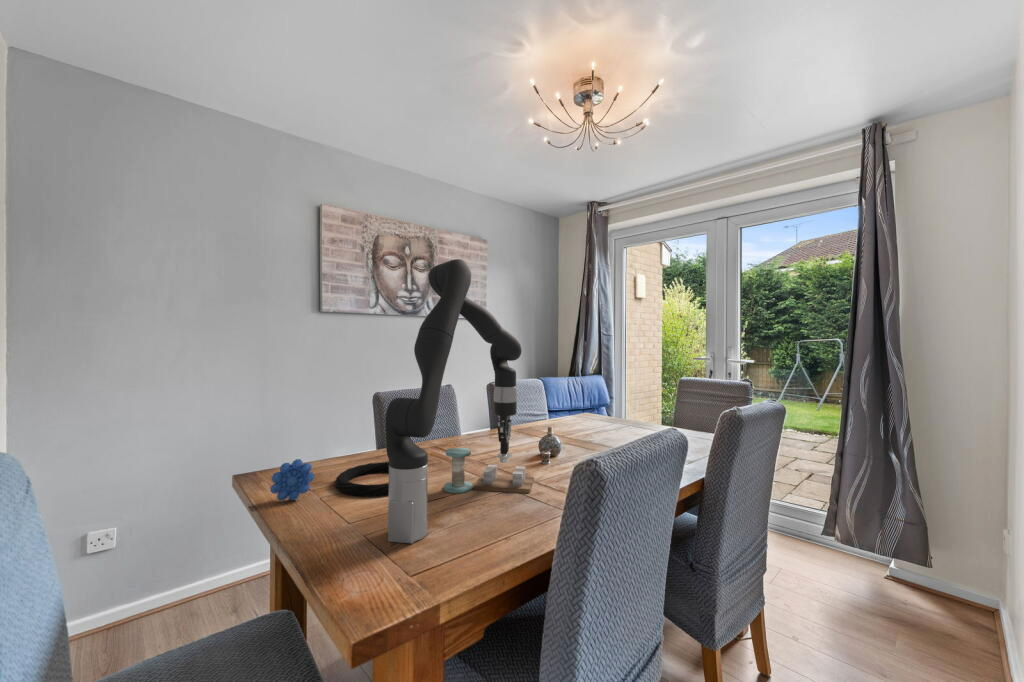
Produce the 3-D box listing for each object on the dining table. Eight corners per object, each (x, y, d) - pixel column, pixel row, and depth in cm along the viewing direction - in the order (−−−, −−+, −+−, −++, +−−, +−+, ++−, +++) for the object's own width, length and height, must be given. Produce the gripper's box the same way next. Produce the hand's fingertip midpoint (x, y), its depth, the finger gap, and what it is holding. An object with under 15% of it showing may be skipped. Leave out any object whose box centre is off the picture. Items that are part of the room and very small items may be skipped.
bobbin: (468, 494, 135) (468, 455, 135) (440, 492, 137) (440, 453, 137) (475, 484, 144) (475, 448, 144) (448, 482, 146) (449, 446, 146)
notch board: (529, 493, 137) (530, 476, 137) (473, 489, 140) (473, 473, 140) (533, 480, 149) (534, 465, 149) (481, 477, 152) (481, 462, 152)
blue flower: (316, 493, 135) (316, 454, 135) (313, 501, 128) (313, 460, 128) (273, 497, 131) (273, 457, 131) (268, 505, 125) (268, 463, 125)
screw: (496, 460, 146) (510, 459, 147) (497, 464, 142) (512, 463, 142) (496, 420, 146) (510, 420, 147) (498, 423, 141) (513, 423, 142)
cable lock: (317, 484, 133) (361, 457, 163) (317, 497, 133) (360, 467, 163) (406, 488, 130) (434, 460, 160) (406, 501, 131) (434, 470, 160)
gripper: (513, 403, 137) (512, 459, 137) (519, 397, 150) (518, 448, 151) (489, 402, 138) (489, 457, 138) (497, 396, 152) (497, 447, 152)
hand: (504, 452), depth 144 cm, fingers closed on screw, 2 cm apart
